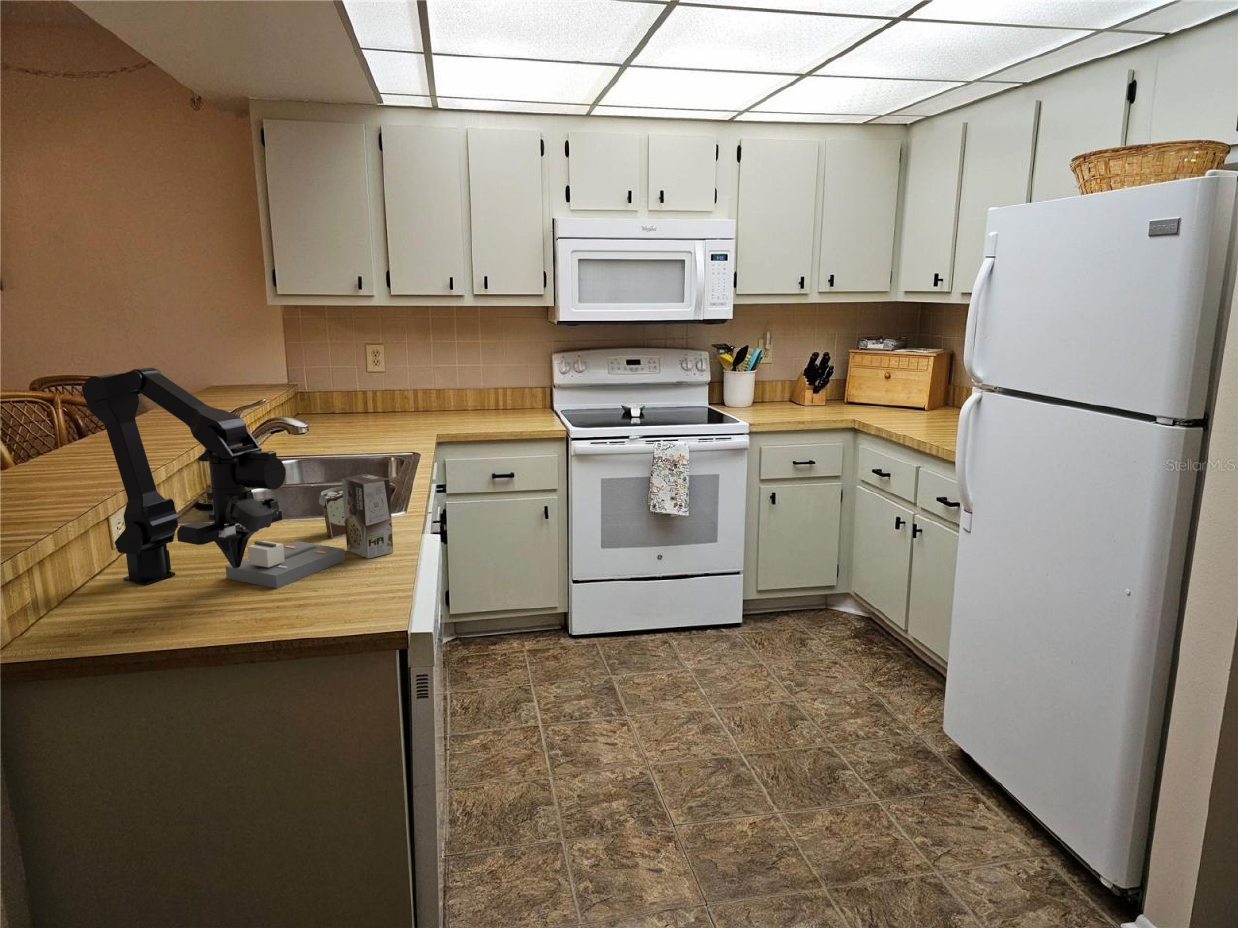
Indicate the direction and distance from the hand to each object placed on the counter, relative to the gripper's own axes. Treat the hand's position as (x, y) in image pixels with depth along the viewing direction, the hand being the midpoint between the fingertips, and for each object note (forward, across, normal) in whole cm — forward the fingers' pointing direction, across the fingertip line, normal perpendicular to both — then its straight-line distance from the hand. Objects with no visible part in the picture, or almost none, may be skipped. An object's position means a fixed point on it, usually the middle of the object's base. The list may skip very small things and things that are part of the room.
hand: (236, 567), depth 150 cm
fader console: (+4, +12, 0) cm, 13 cm away
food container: (+4, +37, +9) cm, 38 cm away
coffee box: (+4, +28, -7) cm, 29 cm away
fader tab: (+1, +7, 0) cm, 7 cm away
